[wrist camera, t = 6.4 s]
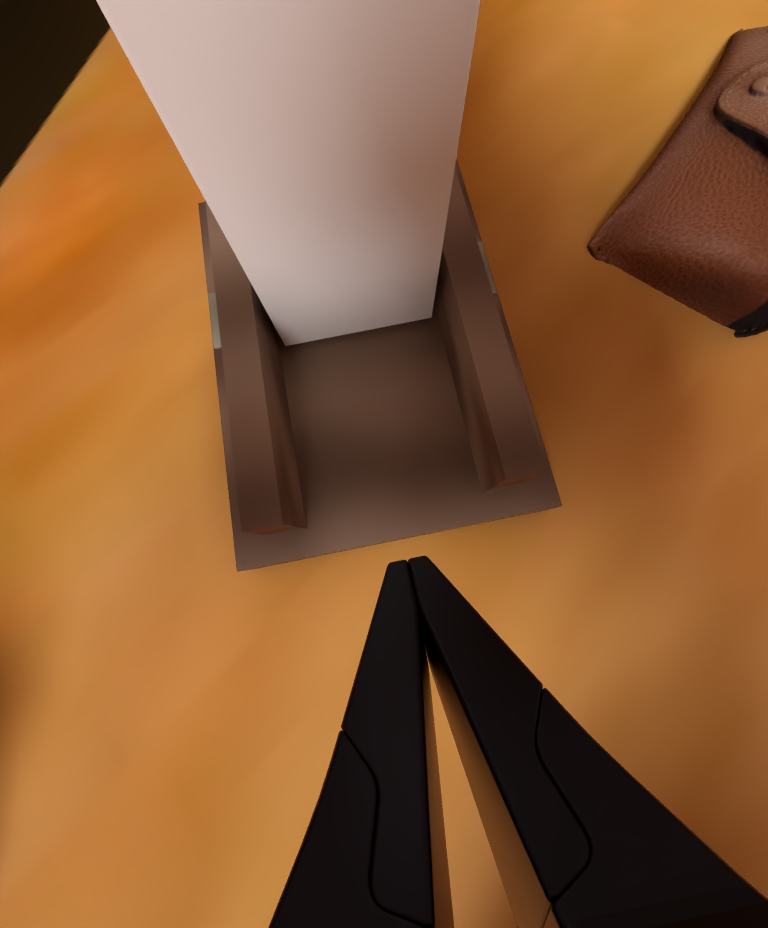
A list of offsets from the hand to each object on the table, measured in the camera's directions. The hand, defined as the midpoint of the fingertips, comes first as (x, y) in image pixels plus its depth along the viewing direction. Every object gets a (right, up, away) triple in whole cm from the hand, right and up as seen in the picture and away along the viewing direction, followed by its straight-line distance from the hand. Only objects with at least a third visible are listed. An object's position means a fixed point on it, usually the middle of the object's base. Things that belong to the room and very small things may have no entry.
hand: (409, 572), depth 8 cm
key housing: (-2, +7, +9) cm, 11 cm away
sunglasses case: (+17, +17, +11) cm, 26 cm away
